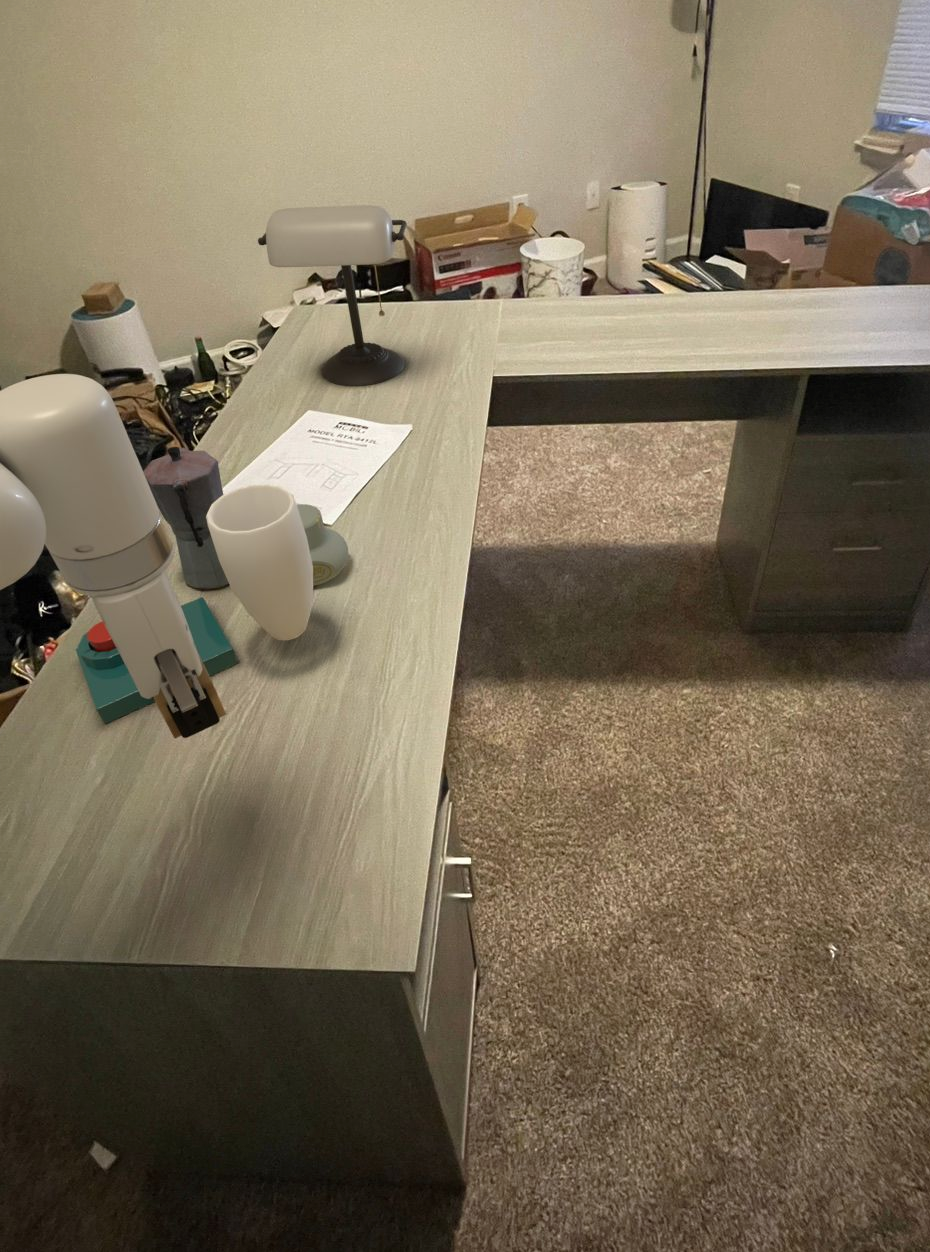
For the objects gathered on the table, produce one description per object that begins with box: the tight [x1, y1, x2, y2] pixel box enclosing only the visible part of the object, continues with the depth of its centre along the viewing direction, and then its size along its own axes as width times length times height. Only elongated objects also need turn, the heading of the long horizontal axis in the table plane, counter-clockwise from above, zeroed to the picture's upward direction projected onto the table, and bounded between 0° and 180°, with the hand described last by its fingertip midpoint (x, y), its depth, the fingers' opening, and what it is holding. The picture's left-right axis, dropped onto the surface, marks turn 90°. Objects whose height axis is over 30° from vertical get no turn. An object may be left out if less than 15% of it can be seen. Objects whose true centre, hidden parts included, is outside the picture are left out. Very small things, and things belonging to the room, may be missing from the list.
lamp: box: [257, 204, 408, 387], centre depth 145 cm, size 26×24×34 cm
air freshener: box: [297, 503, 349, 587], centre depth 103 cm, size 11×8×10 cm
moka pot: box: [143, 446, 230, 590], centre depth 100 cm, size 10×15×20 cm, turn 26°
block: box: [153, 652, 227, 739], centre depth 64 cm, size 4×4×4 cm
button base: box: [75, 596, 239, 725], centre depth 92 cm, size 16×12×4 cm
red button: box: [87, 620, 116, 652], centre depth 90 cm, size 4×4×2 cm
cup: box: [206, 483, 314, 641], centre depth 88 cm, size 10×10×22 cm
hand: (192, 707), depth 65 cm, fingers closed on block, 4 cm apart
